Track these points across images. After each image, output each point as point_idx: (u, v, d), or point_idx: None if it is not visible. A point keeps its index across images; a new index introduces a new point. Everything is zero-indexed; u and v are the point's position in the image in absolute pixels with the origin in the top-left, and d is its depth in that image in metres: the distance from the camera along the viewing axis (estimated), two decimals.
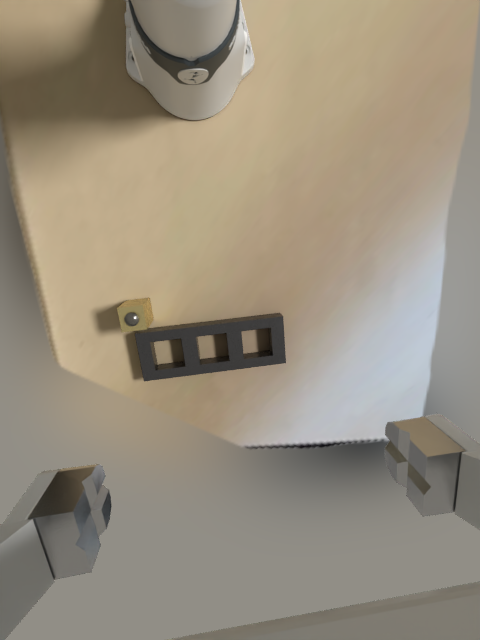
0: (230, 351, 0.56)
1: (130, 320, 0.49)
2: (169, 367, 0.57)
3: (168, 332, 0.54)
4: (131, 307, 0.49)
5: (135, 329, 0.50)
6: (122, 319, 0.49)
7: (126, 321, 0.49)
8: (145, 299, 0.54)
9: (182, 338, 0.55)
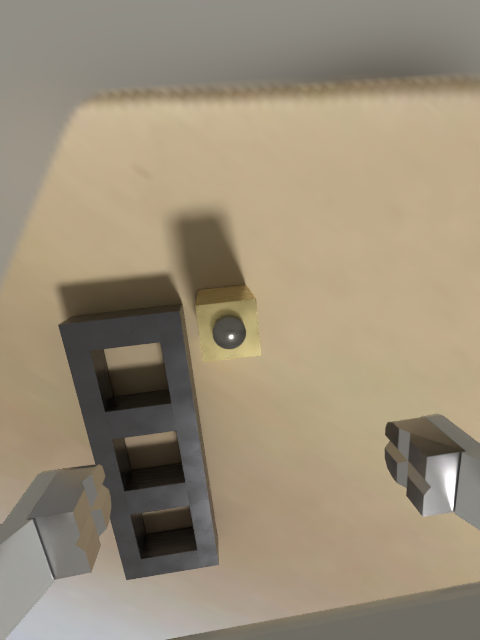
0: (145, 491, 0.28)
1: (227, 331, 0.20)
2: (99, 376, 0.25)
3: (183, 378, 0.25)
4: (256, 331, 0.21)
5: (202, 337, 0.21)
6: (227, 309, 0.21)
7: (225, 322, 0.20)
8: None
9: (172, 405, 0.26)
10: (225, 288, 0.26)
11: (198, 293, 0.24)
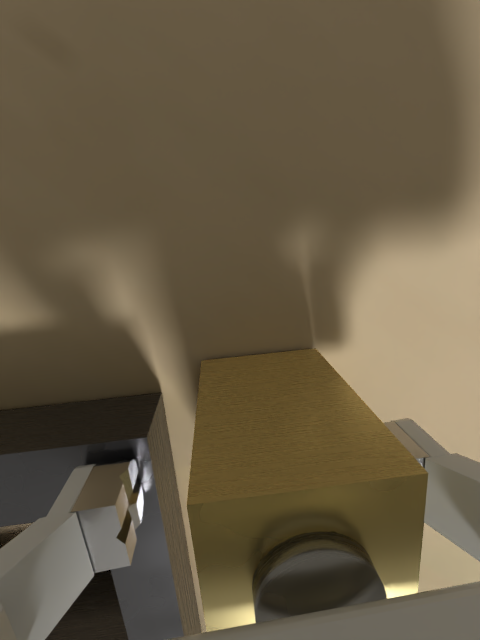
0: None
1: (314, 607, 0.05)
2: None
3: (158, 591, 0.10)
4: (410, 573, 0.06)
5: (214, 602, 0.06)
6: (316, 512, 0.05)
7: (309, 577, 0.05)
8: None
9: None
10: (269, 361, 0.10)
11: (201, 381, 0.09)
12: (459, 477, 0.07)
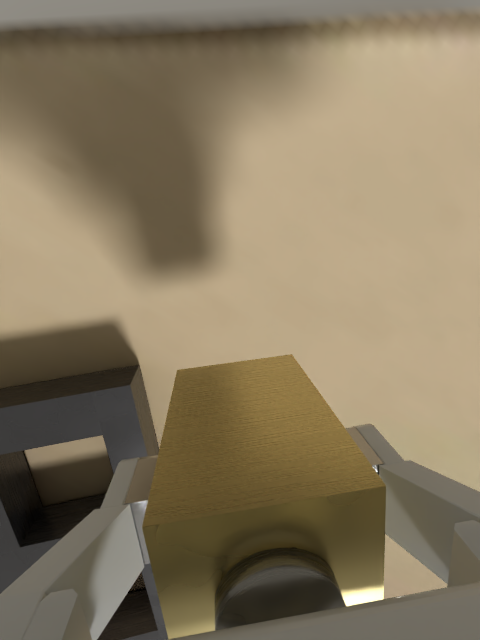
0: None
1: None
2: (7, 492, 0.16)
3: None
4: (374, 584, 0.06)
5: (177, 622, 0.05)
6: (275, 529, 0.05)
7: (267, 595, 0.05)
8: None
9: None
10: (244, 369, 0.10)
11: (173, 392, 0.09)
12: (409, 485, 0.07)
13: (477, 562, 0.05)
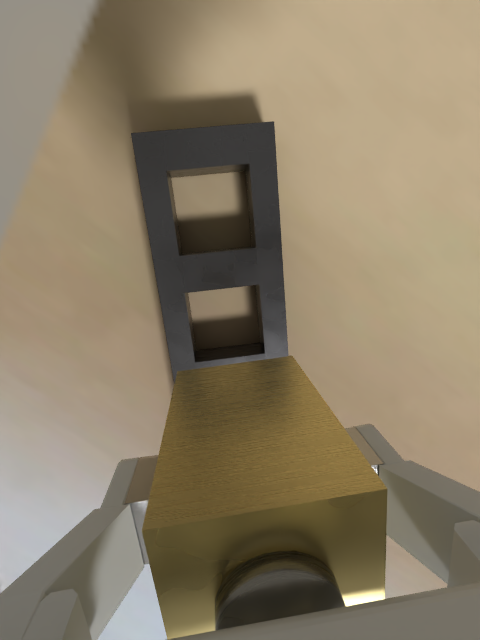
0: (219, 363, 0.24)
1: None
2: (173, 211, 0.21)
3: (272, 214, 0.21)
4: (375, 587, 0.06)
5: (177, 626, 0.05)
6: (275, 532, 0.05)
7: (268, 599, 0.05)
8: None
9: (256, 250, 0.22)
10: (244, 371, 0.10)
11: (173, 394, 0.09)
12: (409, 485, 0.07)
13: (477, 562, 0.05)
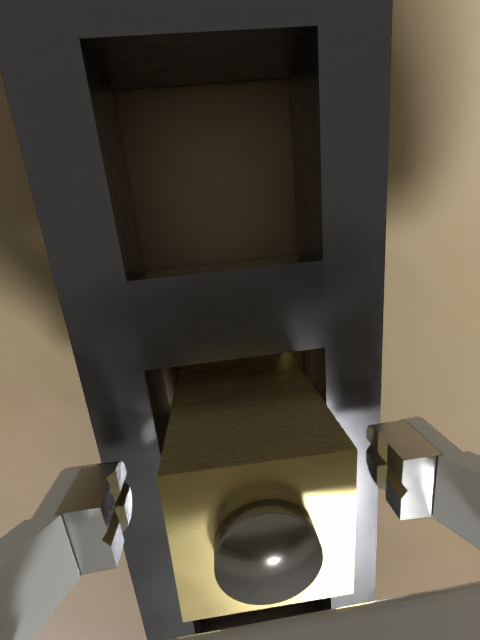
0: None
1: (262, 560, 0.06)
2: (109, 165, 0.08)
3: (368, 174, 0.08)
4: (347, 535, 0.07)
5: (182, 560, 0.07)
6: (265, 482, 0.06)
7: (257, 534, 0.06)
8: None
9: (322, 268, 0.09)
10: (242, 359, 0.11)
11: (179, 377, 0.10)
12: (473, 475, 0.07)
13: None
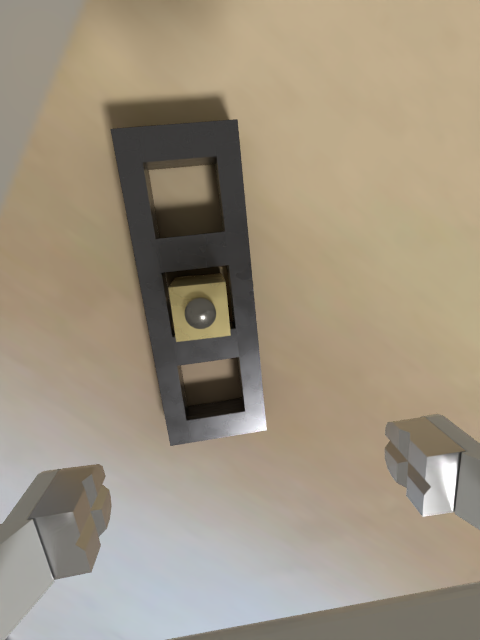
0: None
1: (198, 312, 0.22)
2: (149, 199, 0.24)
3: (238, 201, 0.24)
4: (226, 312, 0.23)
5: (175, 317, 0.22)
6: (199, 291, 0.22)
7: (196, 303, 0.22)
8: None
9: (225, 234, 0.25)
10: (200, 275, 0.27)
11: (174, 279, 0.26)
12: None
13: None
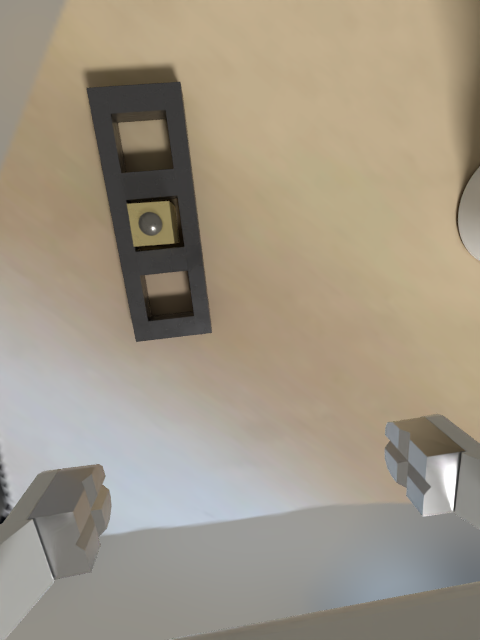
0: (152, 253, 0.35)
1: (148, 222, 0.30)
2: (116, 142, 0.32)
3: (183, 145, 0.32)
4: (170, 225, 0.31)
5: (132, 227, 0.30)
6: (149, 207, 0.30)
7: (146, 215, 0.30)
8: (178, 237, 0.36)
9: (174, 171, 0.33)
10: None
11: None
12: None
13: None
